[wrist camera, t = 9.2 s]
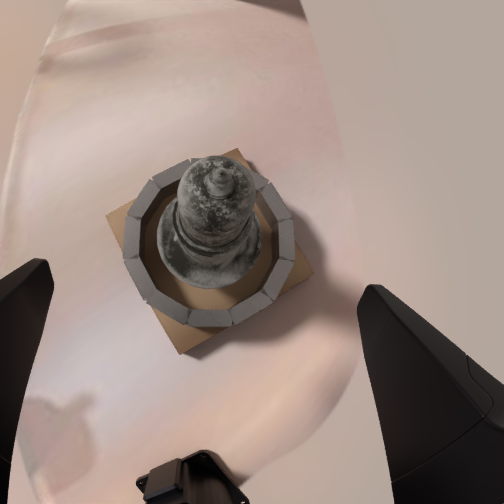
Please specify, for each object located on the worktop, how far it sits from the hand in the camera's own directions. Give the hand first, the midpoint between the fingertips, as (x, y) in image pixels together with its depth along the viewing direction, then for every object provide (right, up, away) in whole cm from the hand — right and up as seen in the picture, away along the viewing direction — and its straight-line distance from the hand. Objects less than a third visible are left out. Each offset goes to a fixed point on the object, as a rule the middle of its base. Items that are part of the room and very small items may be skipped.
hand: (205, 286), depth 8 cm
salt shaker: (-2, +1, +13) cm, 13 cm away
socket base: (-2, +1, +14) cm, 14 cm away
